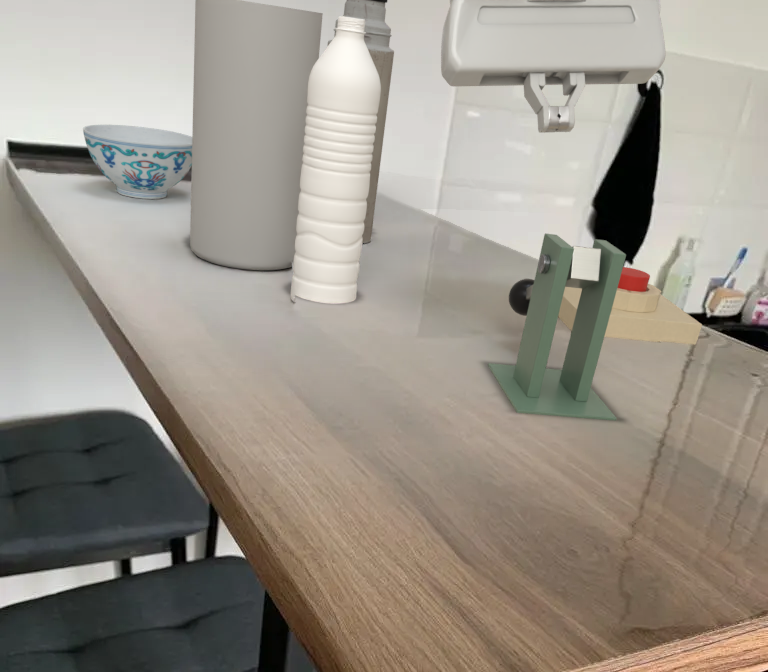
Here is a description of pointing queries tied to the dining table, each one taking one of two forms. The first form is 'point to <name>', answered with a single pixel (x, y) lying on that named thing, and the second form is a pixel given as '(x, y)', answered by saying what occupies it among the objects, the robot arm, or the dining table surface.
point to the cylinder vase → (249, 130)
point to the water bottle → (336, 168)
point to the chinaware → (139, 158)
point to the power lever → (579, 276)
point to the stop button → (633, 280)
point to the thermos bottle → (370, 6)
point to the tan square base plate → (639, 316)
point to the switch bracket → (573, 383)
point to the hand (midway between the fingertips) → (556, 130)
